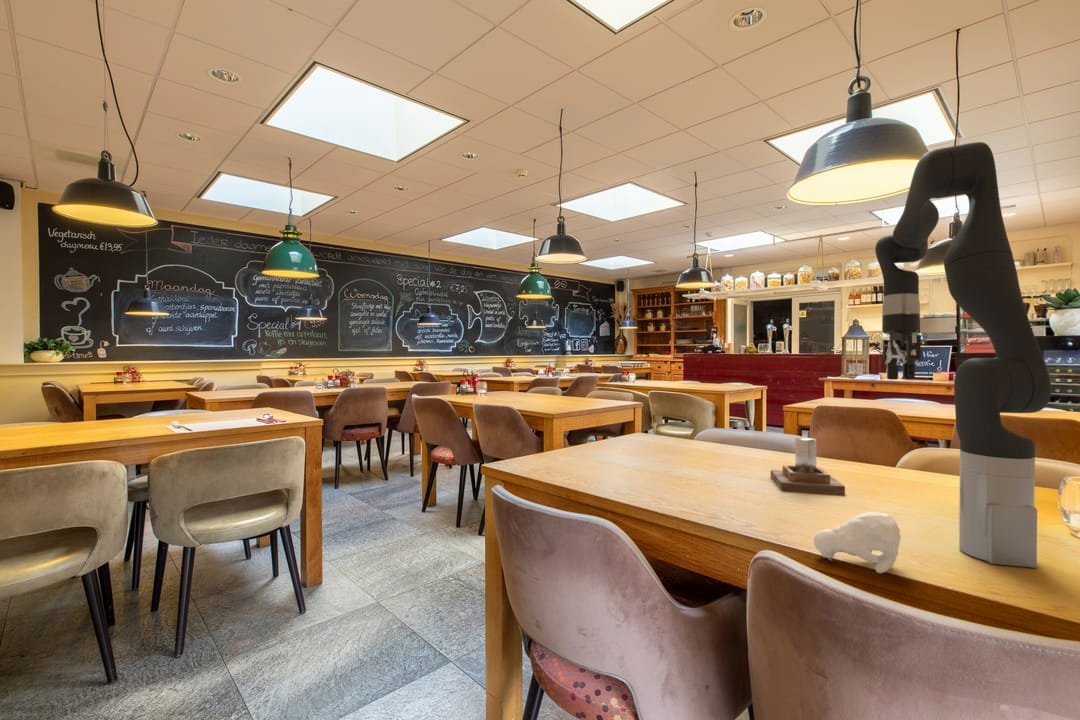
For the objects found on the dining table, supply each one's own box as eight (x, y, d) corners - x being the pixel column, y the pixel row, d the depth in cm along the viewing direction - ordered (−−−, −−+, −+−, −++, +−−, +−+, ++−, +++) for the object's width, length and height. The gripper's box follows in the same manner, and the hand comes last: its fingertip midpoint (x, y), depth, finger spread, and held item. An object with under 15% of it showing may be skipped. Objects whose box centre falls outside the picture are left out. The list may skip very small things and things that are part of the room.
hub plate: (844, 494, 118) (845, 478, 118) (781, 490, 122) (781, 474, 122) (827, 480, 131) (827, 465, 131) (770, 477, 135) (770, 462, 135)
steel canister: (818, 480, 124) (818, 441, 123) (798, 479, 125) (797, 440, 125) (813, 475, 128) (813, 437, 128) (793, 474, 129) (793, 437, 129)
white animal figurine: (901, 520, 74) (810, 515, 79) (907, 577, 73) (815, 568, 79) (895, 509, 79) (810, 505, 85) (901, 562, 79) (815, 554, 85)
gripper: (871, 317, 129) (871, 379, 128) (896, 309, 115) (896, 378, 114) (904, 317, 127) (904, 380, 126) (933, 309, 113) (933, 379, 112)
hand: (900, 379), depth 120 cm, fingers open, 8 cm apart
